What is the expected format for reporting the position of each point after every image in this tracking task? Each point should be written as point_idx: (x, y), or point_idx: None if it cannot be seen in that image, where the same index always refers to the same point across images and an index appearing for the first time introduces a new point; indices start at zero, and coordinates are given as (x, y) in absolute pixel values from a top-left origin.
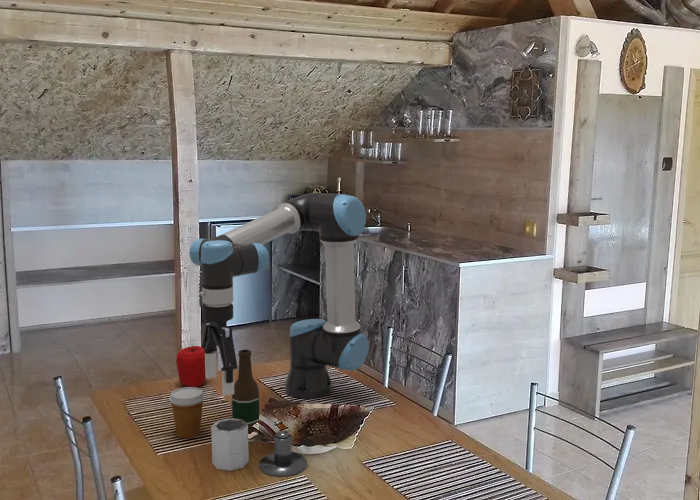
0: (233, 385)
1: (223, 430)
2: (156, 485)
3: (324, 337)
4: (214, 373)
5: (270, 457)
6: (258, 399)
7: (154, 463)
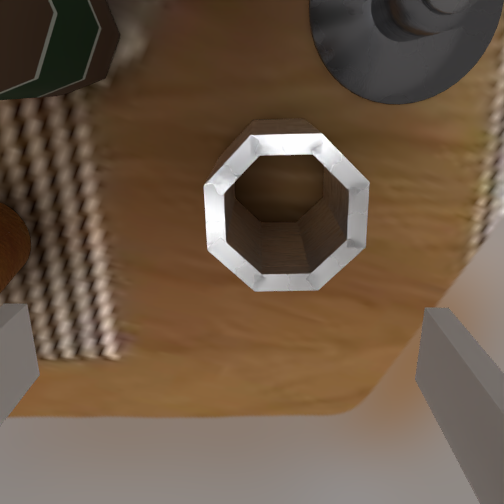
0: (476, 348)
1: (327, 260)
2: (307, 402)
3: None
4: (14, 335)
5: (335, 32)
6: None
7: (173, 379)
